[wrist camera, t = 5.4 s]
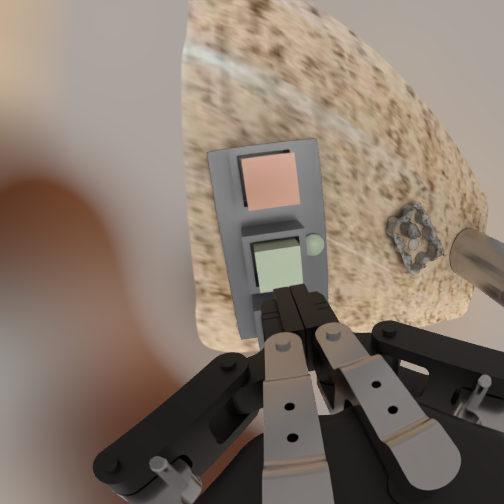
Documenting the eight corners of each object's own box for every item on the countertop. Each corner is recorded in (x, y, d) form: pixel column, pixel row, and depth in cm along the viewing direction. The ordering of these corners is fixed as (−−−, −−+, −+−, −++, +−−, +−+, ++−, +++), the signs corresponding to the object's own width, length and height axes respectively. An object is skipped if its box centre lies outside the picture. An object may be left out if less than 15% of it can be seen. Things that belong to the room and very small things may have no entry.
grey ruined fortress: (432, 248, 40) (446, 256, 37) (401, 272, 42) (414, 283, 38) (413, 196, 37) (428, 201, 33) (379, 221, 38) (392, 229, 34)
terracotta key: (284, 153, 30) (294, 152, 24) (289, 195, 32) (300, 204, 26) (240, 158, 30) (241, 159, 24) (246, 201, 32) (248, 211, 26)
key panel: (313, 139, 34) (327, 136, 28) (325, 320, 43) (336, 342, 38) (208, 152, 34) (202, 151, 28) (240, 333, 43) (241, 358, 38)
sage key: (290, 231, 35) (300, 245, 30) (293, 266, 37) (303, 286, 32) (252, 236, 36) (254, 252, 30) (257, 272, 37) (260, 293, 32)
